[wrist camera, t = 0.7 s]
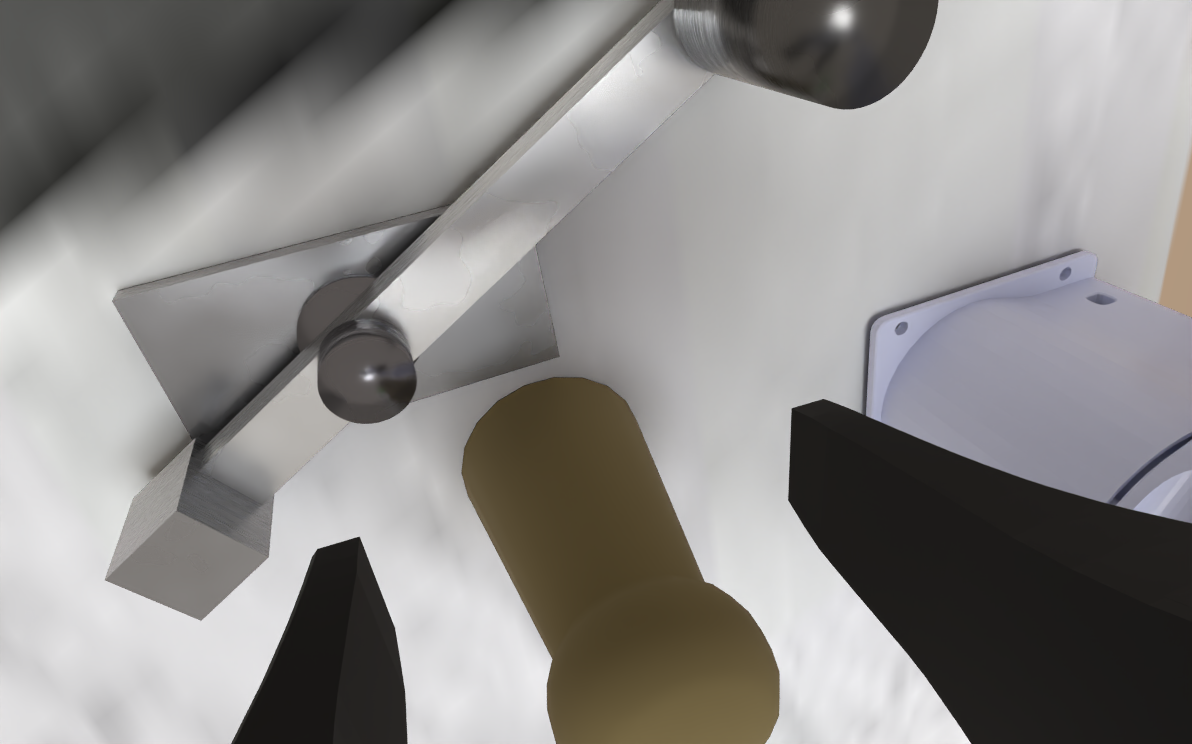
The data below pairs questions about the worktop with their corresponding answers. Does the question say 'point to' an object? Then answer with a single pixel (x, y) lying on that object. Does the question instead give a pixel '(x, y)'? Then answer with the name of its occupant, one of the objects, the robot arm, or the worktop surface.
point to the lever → (488, 263)
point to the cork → (613, 577)
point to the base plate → (316, 320)
